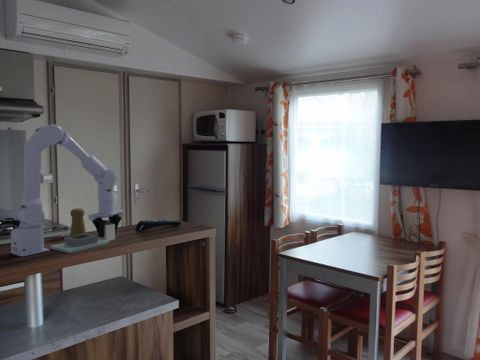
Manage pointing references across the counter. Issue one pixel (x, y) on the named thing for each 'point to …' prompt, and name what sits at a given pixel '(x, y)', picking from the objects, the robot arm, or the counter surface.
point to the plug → (109, 231)
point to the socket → (79, 243)
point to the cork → (77, 222)
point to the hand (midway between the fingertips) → (107, 235)
